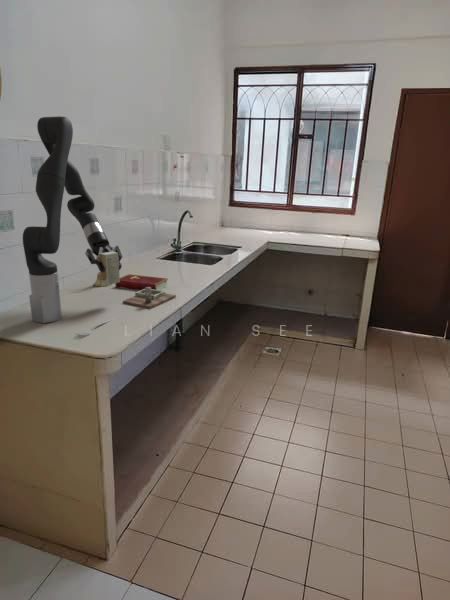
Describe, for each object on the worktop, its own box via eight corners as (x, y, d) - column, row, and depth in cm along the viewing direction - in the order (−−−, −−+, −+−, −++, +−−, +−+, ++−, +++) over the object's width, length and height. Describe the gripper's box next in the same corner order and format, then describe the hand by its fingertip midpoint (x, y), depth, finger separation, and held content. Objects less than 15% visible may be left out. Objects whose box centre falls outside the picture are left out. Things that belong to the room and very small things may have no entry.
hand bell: (101, 281, 205) (98, 248, 200) (115, 283, 202) (113, 250, 198) (90, 285, 198) (87, 251, 193) (104, 287, 195) (102, 253, 190)
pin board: (150, 308, 167) (150, 291, 165) (122, 303, 173) (122, 286, 171) (175, 297, 183) (175, 281, 181) (149, 292, 189) (148, 277, 187)
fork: (122, 316, 159) (122, 312, 159) (82, 340, 137) (81, 334, 137) (115, 315, 160) (114, 311, 159) (74, 338, 138) (73, 333, 137)
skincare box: (113, 280, 173) (112, 251, 169) (120, 282, 170) (119, 252, 167) (100, 283, 168) (98, 253, 165) (106, 285, 165) (105, 254, 162)
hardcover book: (156, 293, 190) (155, 284, 188) (115, 288, 196) (115, 279, 195) (168, 286, 200) (167, 277, 199) (129, 281, 207) (129, 273, 206)
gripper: (81, 231, 164) (97, 266, 159) (114, 229, 173) (131, 262, 169) (76, 243, 169) (92, 277, 164) (109, 240, 179) (124, 273, 174)
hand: (111, 269), depth 166 cm, fingers closed on skincare box, 6 cm apart
